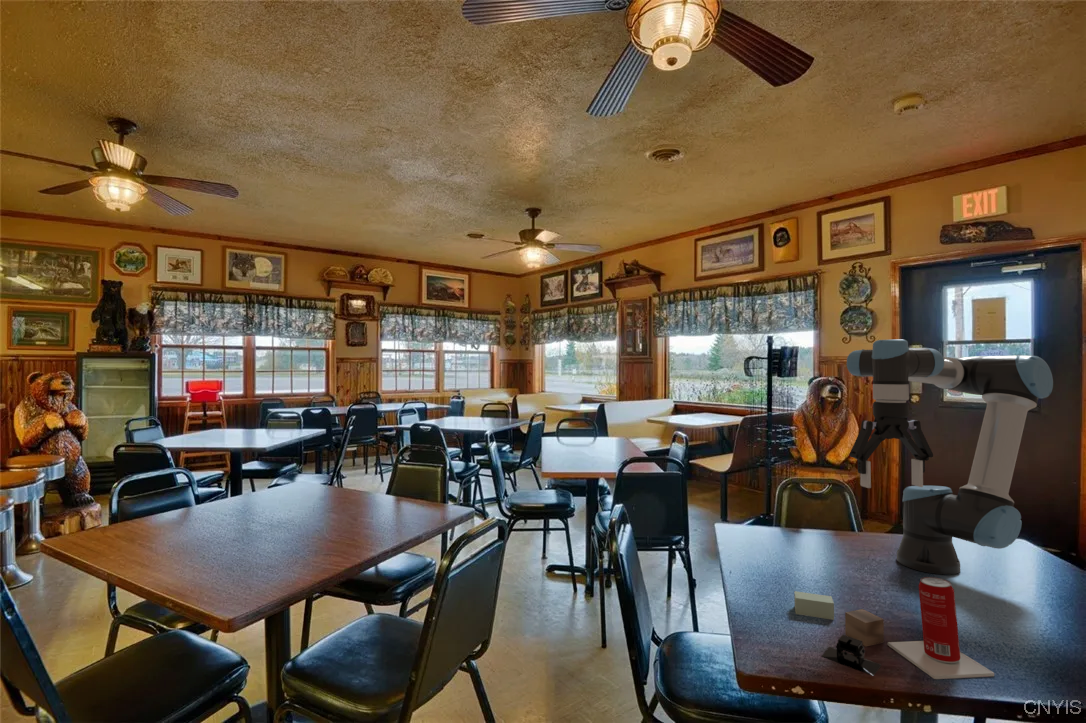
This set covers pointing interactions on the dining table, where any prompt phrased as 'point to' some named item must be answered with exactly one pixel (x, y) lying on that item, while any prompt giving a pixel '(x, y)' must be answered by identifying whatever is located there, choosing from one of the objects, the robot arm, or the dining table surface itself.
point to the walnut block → (864, 627)
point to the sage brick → (814, 605)
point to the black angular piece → (851, 655)
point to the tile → (939, 669)
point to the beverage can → (939, 620)
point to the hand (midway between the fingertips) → (891, 486)
